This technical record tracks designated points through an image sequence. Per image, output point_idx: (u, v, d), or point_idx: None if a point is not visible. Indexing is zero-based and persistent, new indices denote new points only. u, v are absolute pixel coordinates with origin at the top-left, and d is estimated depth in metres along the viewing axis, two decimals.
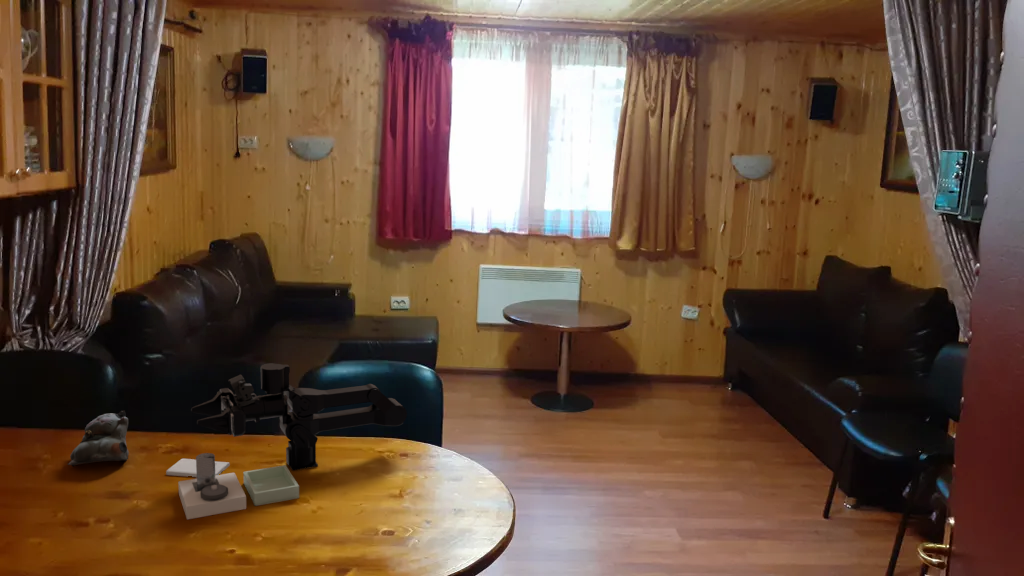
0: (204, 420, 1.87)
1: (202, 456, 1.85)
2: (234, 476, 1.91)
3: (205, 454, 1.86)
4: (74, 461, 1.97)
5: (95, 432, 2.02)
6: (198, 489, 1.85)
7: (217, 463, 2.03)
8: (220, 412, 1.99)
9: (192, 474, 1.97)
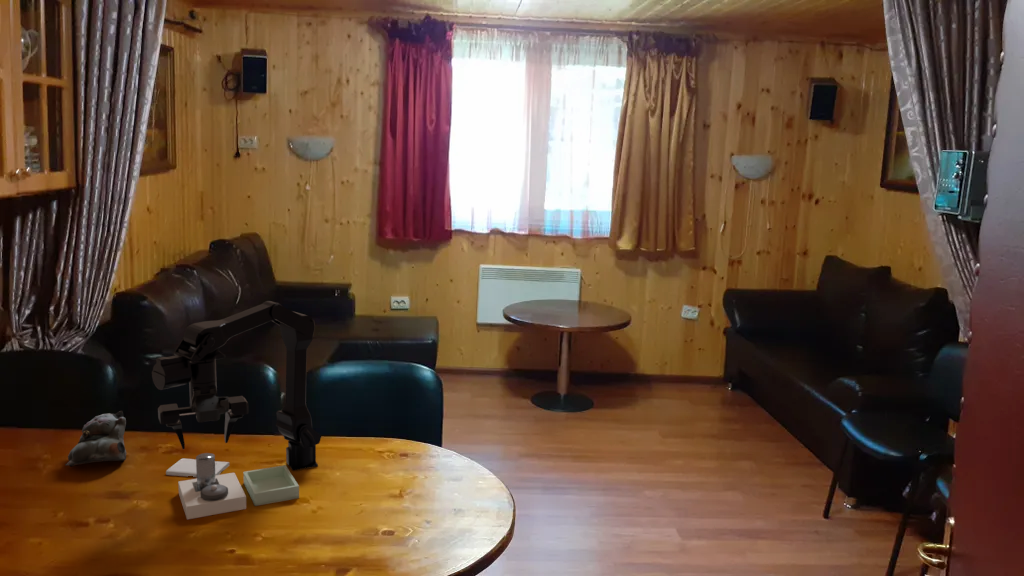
0: None
1: (202, 456, 1.85)
2: (234, 476, 1.91)
3: (205, 454, 1.86)
4: (72, 461, 1.97)
5: (93, 432, 2.01)
6: (198, 489, 1.85)
7: (217, 463, 2.03)
8: None
9: (192, 474, 1.97)
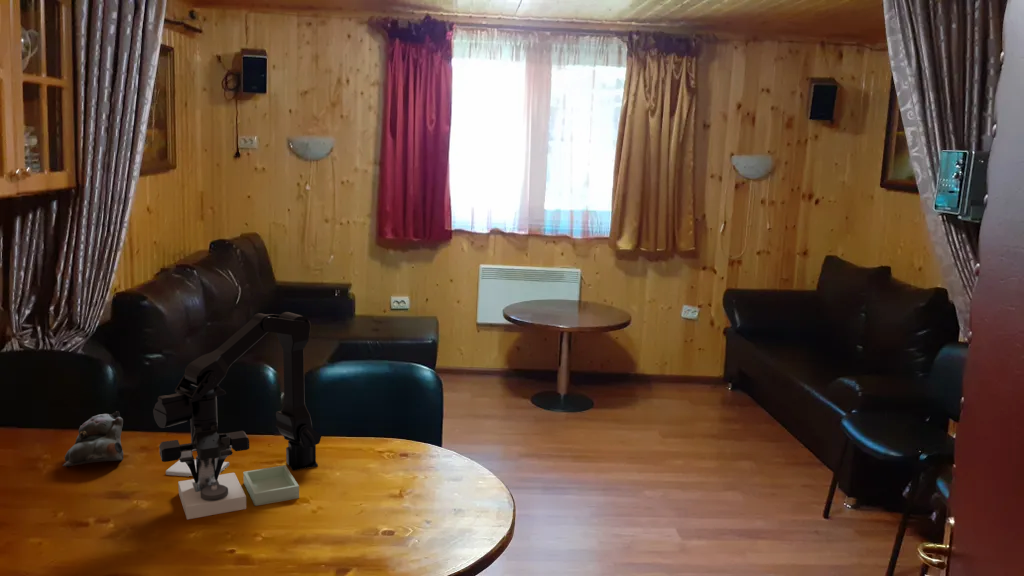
0: None
1: None
2: (234, 476, 1.91)
3: None
4: (69, 462, 1.97)
5: (89, 433, 2.01)
6: (198, 489, 1.85)
7: None
8: None
9: None
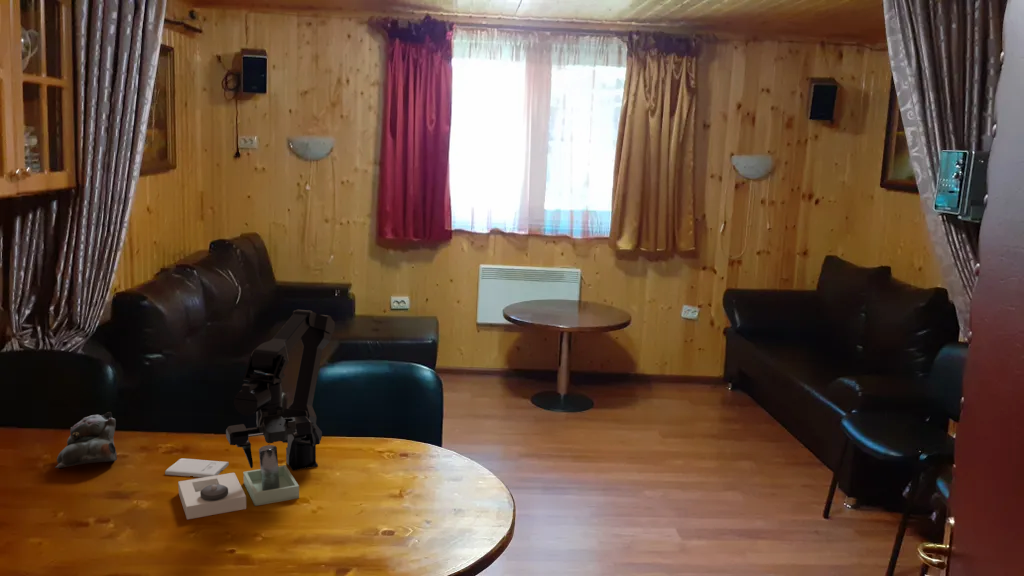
0: None
1: (265, 448, 1.89)
2: (234, 476, 1.91)
3: (267, 446, 1.90)
4: (62, 463, 1.96)
5: (82, 434, 2.00)
6: (262, 480, 1.89)
7: (216, 463, 2.03)
8: None
9: (191, 473, 1.97)
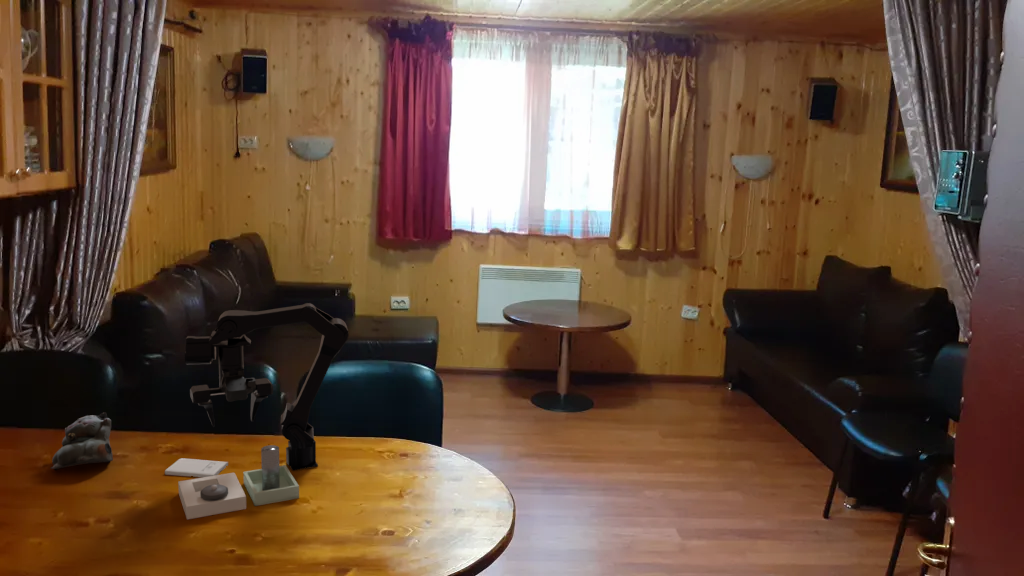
0: None
1: (267, 448, 1.89)
2: (234, 476, 1.91)
3: (269, 446, 1.90)
4: (58, 464, 1.95)
5: (77, 434, 2.00)
6: (263, 480, 1.89)
7: (216, 463, 2.03)
8: None
9: (191, 473, 1.97)
